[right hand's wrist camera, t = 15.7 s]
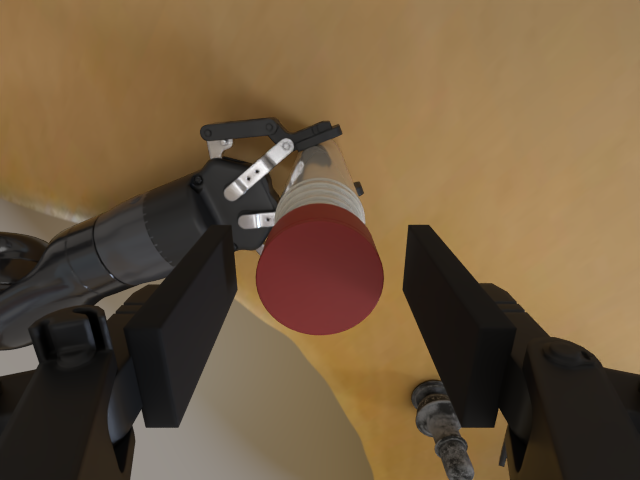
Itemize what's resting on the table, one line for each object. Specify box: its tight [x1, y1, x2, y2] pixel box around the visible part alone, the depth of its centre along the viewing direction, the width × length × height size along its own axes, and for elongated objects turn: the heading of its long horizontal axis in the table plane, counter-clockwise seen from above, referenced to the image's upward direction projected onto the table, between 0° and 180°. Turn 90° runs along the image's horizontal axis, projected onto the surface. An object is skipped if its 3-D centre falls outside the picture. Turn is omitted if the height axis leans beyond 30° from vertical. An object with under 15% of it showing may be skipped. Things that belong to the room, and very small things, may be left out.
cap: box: [256, 203, 384, 335], centre depth 13 cm, size 4×4×2 cm
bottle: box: [274, 139, 365, 225], centre depth 25 cm, size 4×4×26 cm
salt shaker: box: [411, 381, 474, 480], centre depth 42 cm, size 6×6×12 cm
